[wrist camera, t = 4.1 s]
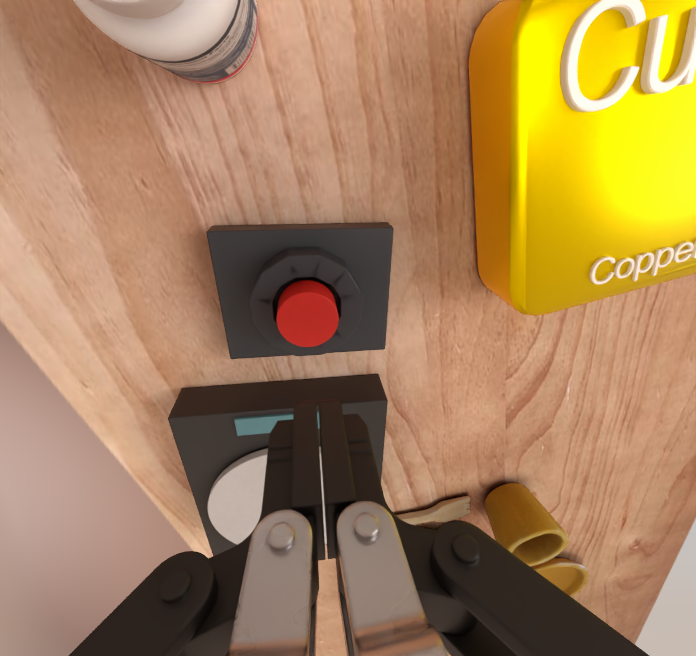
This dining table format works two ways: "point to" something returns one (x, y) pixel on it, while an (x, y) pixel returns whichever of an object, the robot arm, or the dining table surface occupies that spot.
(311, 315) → the button
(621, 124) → the element tile
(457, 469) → the dining table surface
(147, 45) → the pill bottle
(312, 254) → the block
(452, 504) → the tableware set
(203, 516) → the scale
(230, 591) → the robot arm
